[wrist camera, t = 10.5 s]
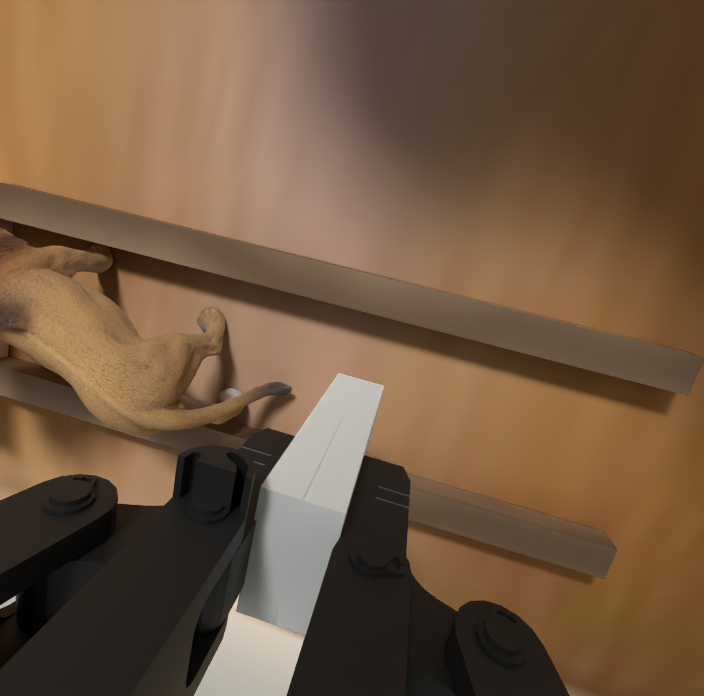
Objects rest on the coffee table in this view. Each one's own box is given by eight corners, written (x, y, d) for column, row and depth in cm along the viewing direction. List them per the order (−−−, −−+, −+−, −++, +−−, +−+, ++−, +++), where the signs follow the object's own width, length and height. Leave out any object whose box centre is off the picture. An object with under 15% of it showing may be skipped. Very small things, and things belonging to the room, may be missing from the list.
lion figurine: (12, 311, 21) (-274, 348, 12) (31, 207, 20) (-274, 167, 11) (277, 431, 20) (170, 562, 12) (316, 331, 19) (229, 394, 10)
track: (-23, 175, 20) (-131, 155, 16) (684, 351, 17) (765, 379, 13) (-26, 373, 22) (-120, 397, 18) (592, 559, 19) (636, 636, 15)
